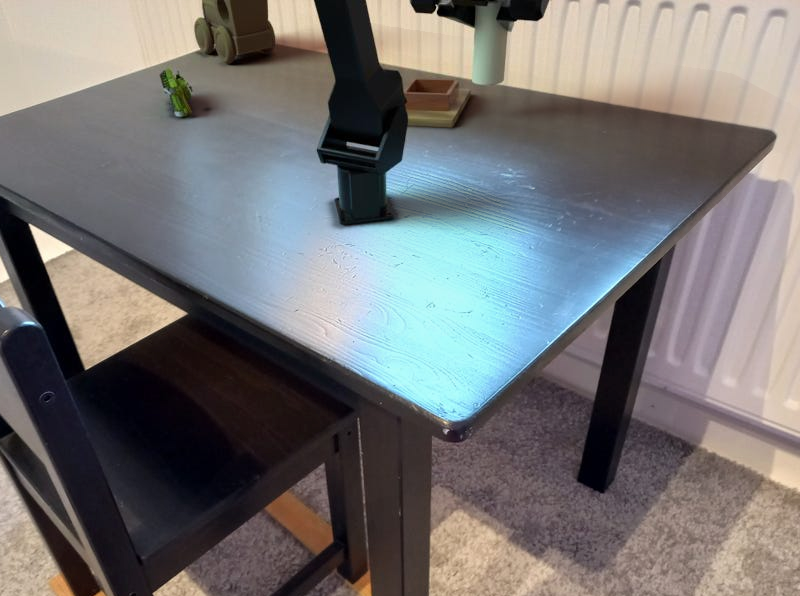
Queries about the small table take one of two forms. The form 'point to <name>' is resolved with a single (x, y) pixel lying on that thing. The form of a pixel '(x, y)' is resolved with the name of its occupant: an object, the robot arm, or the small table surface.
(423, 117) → the base pad
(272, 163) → the small table surface
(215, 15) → the wooden toy train
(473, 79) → the post
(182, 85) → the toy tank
